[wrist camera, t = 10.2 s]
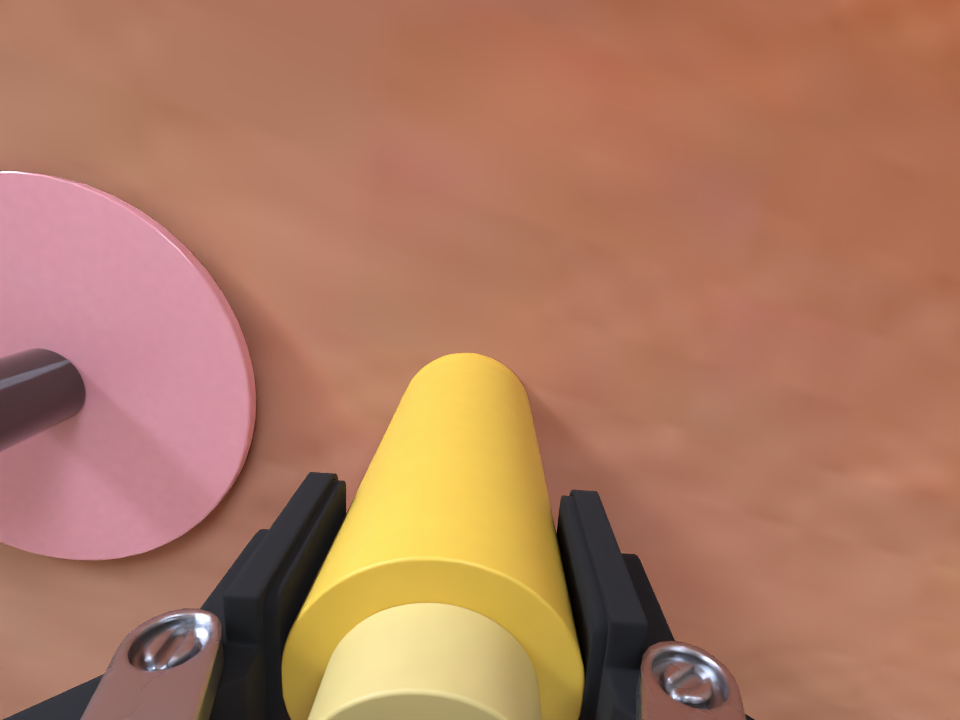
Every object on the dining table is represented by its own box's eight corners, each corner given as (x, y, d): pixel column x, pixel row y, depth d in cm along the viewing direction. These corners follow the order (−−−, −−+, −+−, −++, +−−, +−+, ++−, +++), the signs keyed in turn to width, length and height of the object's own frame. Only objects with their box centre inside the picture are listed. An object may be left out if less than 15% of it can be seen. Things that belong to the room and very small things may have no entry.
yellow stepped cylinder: (400, 468, 20) (242, 912, 7) (403, 348, 18) (220, 626, 6) (524, 477, 20) (583, 935, 7) (535, 357, 18) (631, 655, 6)
